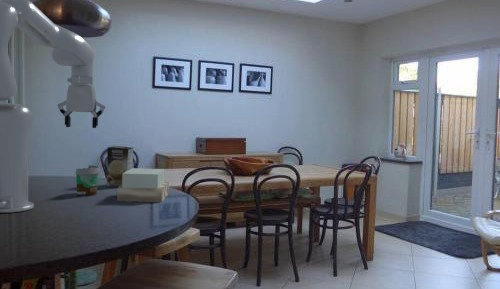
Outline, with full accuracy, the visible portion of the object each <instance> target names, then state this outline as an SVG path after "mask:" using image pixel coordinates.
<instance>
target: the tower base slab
mask: <svg viewBox="0 0 500 289" xmlns="http://www.w3.org/2000/svg"><path fill="white" fill-rule="evenodd" d="M169 183H170V182H169V181H164V183H163V184H162V185H161V186H160V187H159V188H158V189H143V188H122V186H120V187H117V188H116V189H117V190H116V191H117V193H116V194H117V200H116V202H131V201H138V203H139V202H140V203H141V202H142V203H163V201H164V200H165V199H166V197H167V196H168V195H169V193H170V192H169V190H170V189H169Z"/></svg>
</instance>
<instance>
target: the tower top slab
mask: <svg viewBox="0 0 500 289" xmlns="http://www.w3.org/2000/svg"><path fill="white" fill-rule="evenodd" d="M165 171H166V170H165V169H164V168H141V167H140V168H139V167H138V168H134V167H133V168H132V169H130V170H128V171H126V172H124V173H122V188H143V189H158V188H159V187H160V186H161V185H162V184H163V183H164V182H165Z"/></svg>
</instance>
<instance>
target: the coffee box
mask: <svg viewBox="0 0 500 289" xmlns="http://www.w3.org/2000/svg"><path fill="white" fill-rule="evenodd" d="M106 155H107V156H106V158H107V159H106V162H107V163H106V187H115V186H122V173H124V172H126V171H128V170H130V169H132V168H134V166H133V165H134V164H133V163H134V147H127V146H109V147H108V146H107V154H106Z"/></svg>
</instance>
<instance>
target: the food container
mask: <svg viewBox="0 0 500 289" xmlns="http://www.w3.org/2000/svg"><path fill="white" fill-rule="evenodd" d="M99 174H101V169H100V167H99V165H88V167H86V168H84V167H83V168H76V169H75V178H76V196H77V197H90V196H96V195H97V194H98V181H99Z"/></svg>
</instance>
